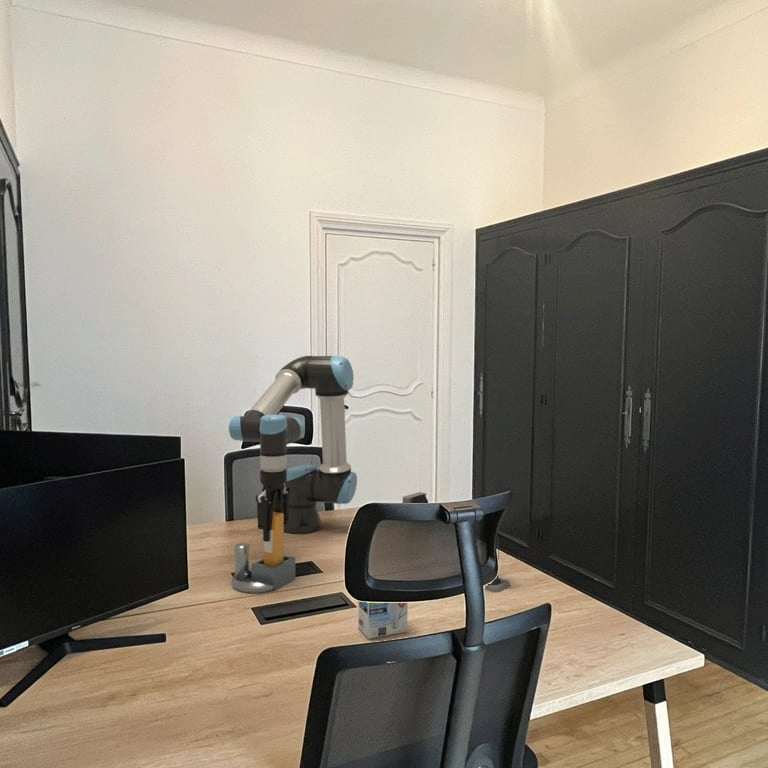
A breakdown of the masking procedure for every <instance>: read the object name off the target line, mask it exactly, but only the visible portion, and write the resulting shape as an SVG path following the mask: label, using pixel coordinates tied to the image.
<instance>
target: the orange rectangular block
mask: <svg viewBox="0 0 768 768" xmlns="http://www.w3.org/2000/svg"><path fill="white" fill-rule="evenodd" d="M267 526H268V525H267ZM271 529H272V530H273V552H272V553H270V552H265V551H264V550H263V558H264V565H268V566H273V567H274V566H276V565H278V564H280V563H282V562H284V555H285V554H284V549H285V547H284V541H285V540H284V533H285V532H284V513H279V512H274V511H273V518H272V526H271Z"/></svg>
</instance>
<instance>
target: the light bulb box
mask: <svg viewBox="0 0 768 768" xmlns="http://www.w3.org/2000/svg"><path fill="white" fill-rule="evenodd" d="M408 604H409V603H366V602H359V601H358V622H357V623H358V626H357V627H358V629H359V630H360V631H361V633H363V635H364V636H365V637H366V638H367V639H368V640H370V639H371V640H372V639H375V638H376V639H377V638H380V637H381V638H382V637H386V636H390V635H396V634H401V633H402V634H403V633H407V632H408Z"/></svg>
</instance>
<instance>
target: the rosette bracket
mask: <svg viewBox="0 0 768 768" xmlns="http://www.w3.org/2000/svg"><path fill="white" fill-rule="evenodd" d="M295 580H296V557H294V556H290V555H285V554H284V562H282V563H280V564H278V565H276V566H274V567H273V566H268V565H264V557H262V558H260V559H258V560H256V561H254V562H252V563H251V567H250V545H249V544H248V543H246V542H240V543H236V544H235V545H234V576H233V577H232V579H231V584H232V585H231V587H232V589H233V590H235V591H236V592H239V593H243V594H252V595H253V594H265V593H270V592H275V591H277V590H279V589H281V588H283V587H284V586H286V585H288V584H290V583H291V582H294V581H295Z"/></svg>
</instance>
